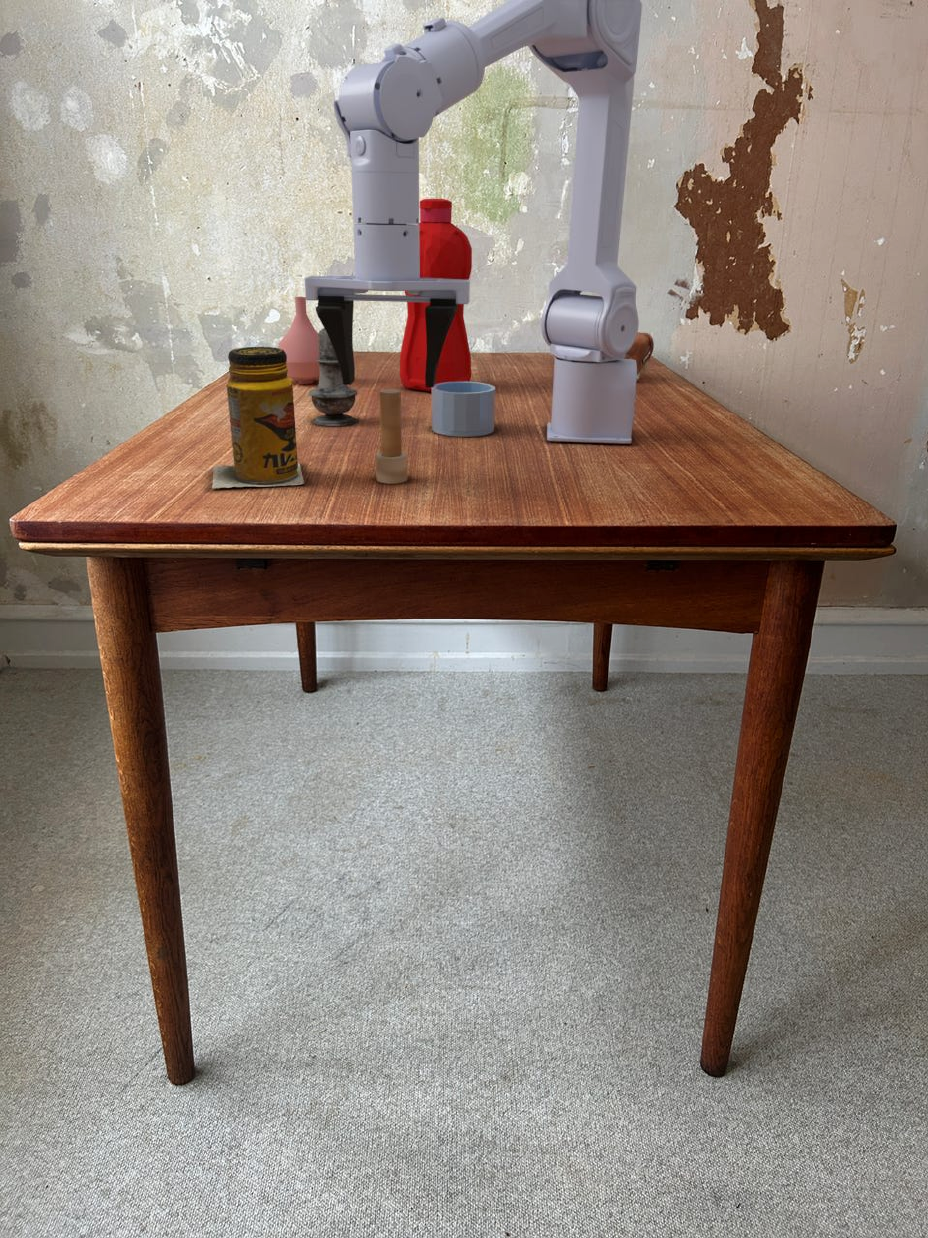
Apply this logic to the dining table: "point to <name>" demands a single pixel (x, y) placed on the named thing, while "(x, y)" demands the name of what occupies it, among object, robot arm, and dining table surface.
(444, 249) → the water bottle
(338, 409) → the salt shaker
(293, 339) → the pink vase
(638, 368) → the bull figurine
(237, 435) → the condiment
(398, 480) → the brush
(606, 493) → the dining table surface
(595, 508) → the dining table surface
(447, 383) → the beaker
